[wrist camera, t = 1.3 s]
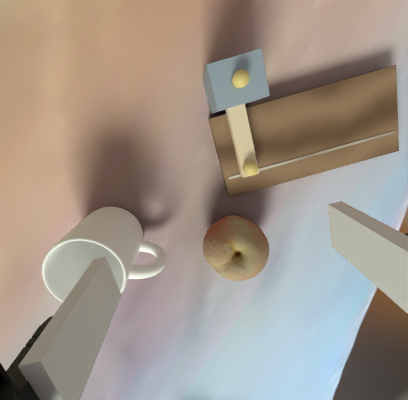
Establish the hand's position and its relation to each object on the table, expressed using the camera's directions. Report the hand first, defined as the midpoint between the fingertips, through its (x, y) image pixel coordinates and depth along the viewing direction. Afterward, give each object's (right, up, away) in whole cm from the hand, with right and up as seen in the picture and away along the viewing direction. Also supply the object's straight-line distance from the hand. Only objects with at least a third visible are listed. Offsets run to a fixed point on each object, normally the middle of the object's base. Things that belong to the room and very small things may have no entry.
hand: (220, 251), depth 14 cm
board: (+11, +11, +18) cm, 24 cm away
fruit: (+3, -2, +22) cm, 22 cm away
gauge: (+3, +12, +17) cm, 21 cm away
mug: (-12, -2, +21) cm, 24 cm away
